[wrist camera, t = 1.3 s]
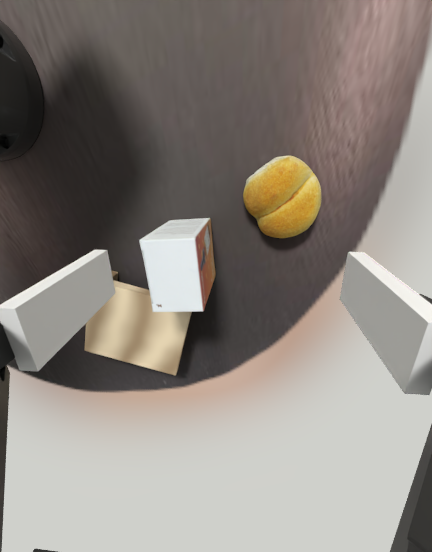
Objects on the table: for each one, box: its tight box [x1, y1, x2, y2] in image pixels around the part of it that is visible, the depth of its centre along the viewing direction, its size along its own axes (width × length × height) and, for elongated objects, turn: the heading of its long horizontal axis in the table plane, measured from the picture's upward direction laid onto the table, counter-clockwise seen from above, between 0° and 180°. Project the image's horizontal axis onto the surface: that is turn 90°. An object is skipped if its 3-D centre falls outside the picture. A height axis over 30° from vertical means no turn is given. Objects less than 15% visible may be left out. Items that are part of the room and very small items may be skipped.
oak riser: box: [85, 270, 192, 376], centre depth 39 cm, size 14×12×4 cm
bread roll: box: [243, 156, 321, 238], centre depth 30 cm, size 8×9×4 cm
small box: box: [139, 218, 216, 312], centre depth 31 cm, size 8×6×10 cm
